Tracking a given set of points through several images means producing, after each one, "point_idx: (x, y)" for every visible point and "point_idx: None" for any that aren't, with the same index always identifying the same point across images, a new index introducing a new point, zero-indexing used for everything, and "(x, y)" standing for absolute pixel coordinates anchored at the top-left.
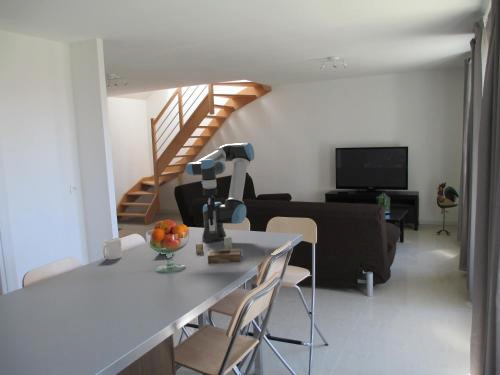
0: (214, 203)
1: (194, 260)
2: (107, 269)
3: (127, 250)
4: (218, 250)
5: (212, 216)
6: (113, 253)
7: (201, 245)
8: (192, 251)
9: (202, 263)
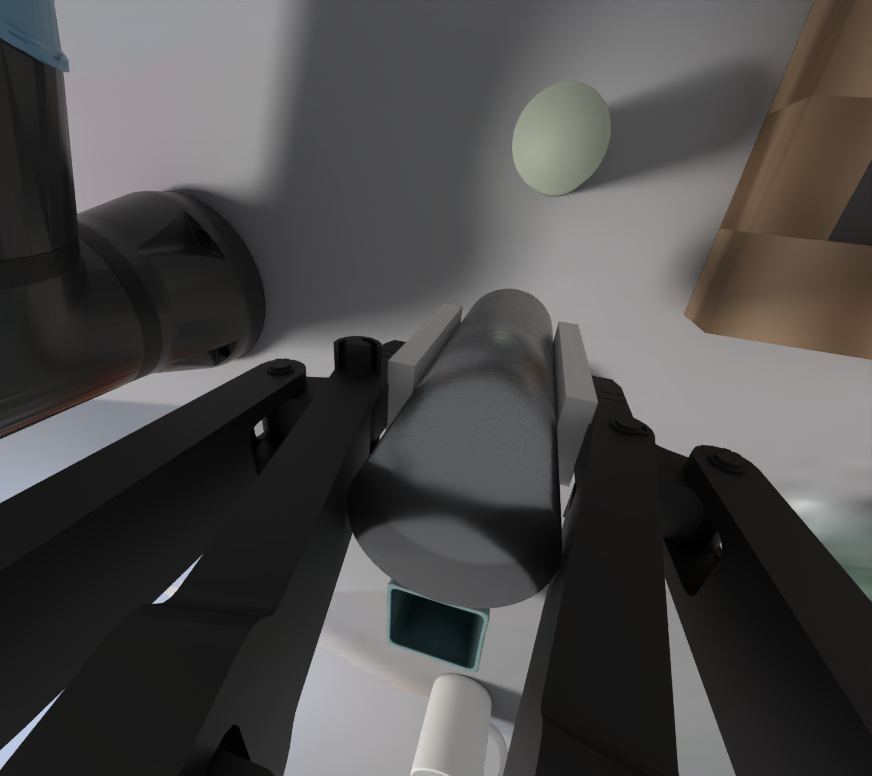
0: (169, 731)
1: (710, 434)
2: None
3: (363, 645)
4: (793, 260)
5: (778, 497)
6: (488, 728)
7: None
8: None
9: (851, 389)
